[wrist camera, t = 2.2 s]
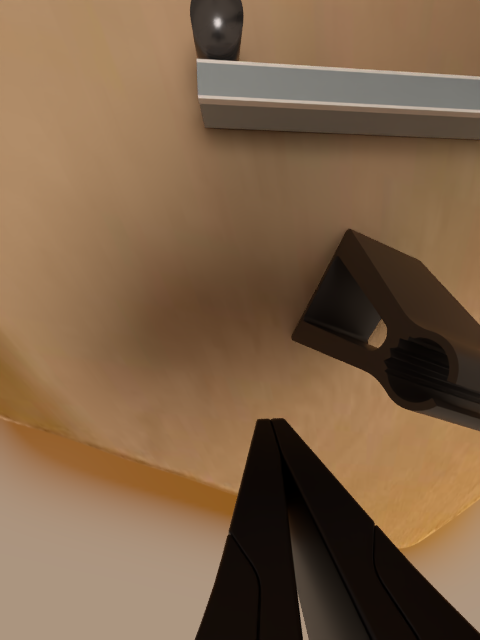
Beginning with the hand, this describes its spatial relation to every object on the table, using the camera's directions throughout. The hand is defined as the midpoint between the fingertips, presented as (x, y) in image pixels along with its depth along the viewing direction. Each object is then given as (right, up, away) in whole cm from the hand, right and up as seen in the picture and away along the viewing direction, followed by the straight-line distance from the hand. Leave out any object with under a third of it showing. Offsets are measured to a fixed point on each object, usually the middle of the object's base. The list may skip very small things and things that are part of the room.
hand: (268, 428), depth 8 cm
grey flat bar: (+6, +15, +7) cm, 17 cm away
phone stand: (+8, +5, +12) cm, 15 cm away
